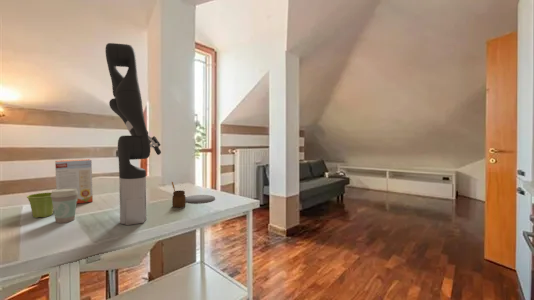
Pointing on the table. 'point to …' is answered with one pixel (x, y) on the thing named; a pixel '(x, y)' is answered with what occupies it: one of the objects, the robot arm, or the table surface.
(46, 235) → the table surface
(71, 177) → the cracker box
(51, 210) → the plant pot
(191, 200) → the charcoal mat
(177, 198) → the utensil holder
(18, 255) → the table surface
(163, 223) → the table surface
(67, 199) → the coffee cup
